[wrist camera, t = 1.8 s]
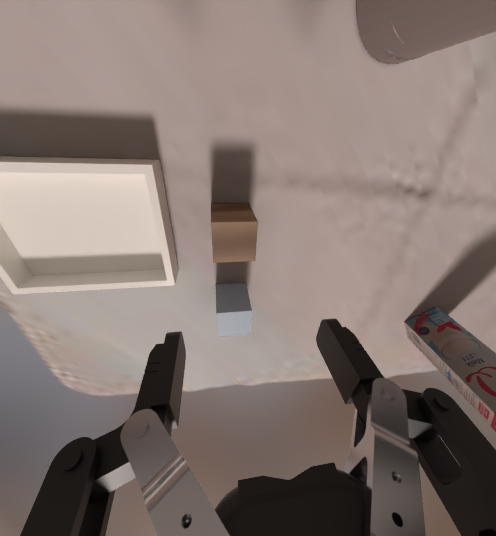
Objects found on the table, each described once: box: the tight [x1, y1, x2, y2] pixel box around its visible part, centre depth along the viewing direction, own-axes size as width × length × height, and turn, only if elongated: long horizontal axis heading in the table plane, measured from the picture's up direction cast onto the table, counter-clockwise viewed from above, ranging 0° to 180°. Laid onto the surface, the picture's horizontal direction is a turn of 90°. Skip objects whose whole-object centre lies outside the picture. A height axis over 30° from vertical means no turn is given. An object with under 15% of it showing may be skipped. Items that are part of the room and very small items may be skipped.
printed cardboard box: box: [404, 307, 496, 432], centre depth 36 cm, size 7×7×22 cm
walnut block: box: [211, 203, 258, 263], centre depth 24 cm, size 4×4×6 cm
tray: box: [0, 156, 178, 294], centre depth 23 cm, size 14×18×4 cm
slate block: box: [216, 283, 252, 337], centre depth 31 cm, size 4×4×6 cm
